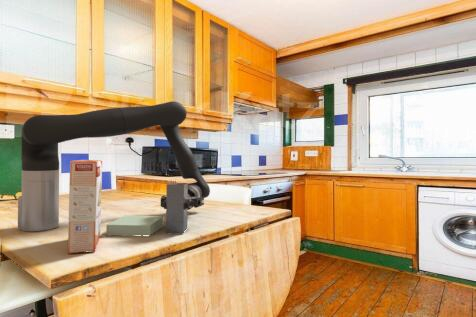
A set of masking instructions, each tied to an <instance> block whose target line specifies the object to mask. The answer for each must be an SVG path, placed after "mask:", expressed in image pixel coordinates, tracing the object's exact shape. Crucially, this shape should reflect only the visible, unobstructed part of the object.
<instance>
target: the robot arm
mask: <svg viewBox="0 0 476 317" xmlns="http://www.w3.org/2000/svg"><path fill="white" fill-rule="evenodd" d="M187 113H188V112H187V109H186V107H185V106H184V105H183V104H182V103H180V102H178V101H174V100H173V101H172V100H171V101H168V102H164V103H163V102H162V103H159V104H154V105H153V104H152V105H147V106H143V105H142V106H125V107H124V106H122V107H113V108H111V107H110V108H103V109H97V110H90V111H87V112H83V113H82V112H81V113H77V114H55V115H54V114H52V115H51V114H50V115H49V114H39V115H33V116H31V117H29V118H28V119H26V120H25V122H24V123H23V125H22V127H21V158H20V159H21V195H19V196H18V197H17V230H19V231H22V232H40V231H41V232H43V231H48V230H53V229H56V228H58V227H59V225H60V220H59V216H60V160H59V159H60V158H59V143H65V142H69V141H72V140H76V139H85V138H86V139H87V138H88V139H90V138H107V137H108V138H109V137H116V136H123V135H127V134H132V133H135V132H139V131H142V130H146V129H148V128H152V127H158V126H159V127H160V128H161V130H162V132H163V134H164V136H165V138H166V140H167V142H168V145H169V147H170V149H171V151H172V153H173V155H174V157H175V161H176V164H177V166H178V169H179V172H180V174H181V175H180V176H181V178H183V179H184V180H189V179H190V180H195V182H192V183H188V199H187V200H186V201H184V207H183V209H184V210H186V209H187V211H188V210H191V209H192V208H195V209H197V208H200V207H202V206H204V205H205V199H206V198H208V197H209V196H210V193H211V188H210V186H209V184H208V182H207V181H206V179H205V178H204V177H203V176H202V174H201V171H200V170H199V167H198V165H197V161H196V159H195V155H194V153H193V152H192V150H191V149H190V146H188V144H187V143H186V141H185V140H184V138H183V136H182V133H181V130H180V125H181V124H182V123H183V122H184V121H185V120H186V118H187V116H188V115H187ZM166 206H167V202H166V195H161V197H160V207H161V208H163V209H164V210H166Z"/></svg>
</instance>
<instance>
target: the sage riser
mask: <svg viewBox="0 0 476 317" xmlns="http://www.w3.org/2000/svg"><path fill="white" fill-rule="evenodd" d="M163 220H164V218H163V216H160V215H159V216H157V215H156V216H155V215H123V216H121V217H119V218H117V219H115V220H114V221H110V222H109V223H107V224H106V232H105V233H106V235H141V236H140V237H142V236H143V235H149V236H150V235H151V234H152V233H154V232H155V231H156V230H157V231H159V230H160V229H161V228H162V227H163V226H164V221H163ZM161 226H162V227H161ZM160 227H161V228H160ZM159 228H160V229H159ZM157 231H156V232H157ZM156 232H155V233H156ZM155 233H154V234H155ZM106 235H105V236H106ZM152 235H153V234H152ZM152 235H151V236H152ZM151 236H150V237H151Z"/></svg>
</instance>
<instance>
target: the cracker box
mask: <svg viewBox="0 0 476 317" xmlns="http://www.w3.org/2000/svg"><path fill="white" fill-rule="evenodd" d="M102 179H103V160H101V159H100V160H99V159H77V160H76V159H75V160H70V162H69V188H68V189H69V190H68V191H69V192H68V193H69V194H68V196H69V197H68V200H69V201H68V230H67V232H68V233H67V237H68V238H67V254H68V255H69V253H70V254H79V253H78V252H84V253H87V252H86V251H94V252H96V250H95V249H97V247H98V244H99V240H100V238H101V223H102V222H101V219H102V218H101V217H102V214H101V213H102V184H103V180H102ZM96 246H97V247H96Z"/></svg>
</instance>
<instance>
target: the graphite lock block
mask: <svg viewBox="0 0 476 317" xmlns="http://www.w3.org/2000/svg"><path fill="white" fill-rule="evenodd" d="M188 184H189V183H188V182H170V183H167V184H166V195H165V196H166V202H167V206H166V209H165V213H166V214H165V215H166V216H165V220H166V221H165V234H166V233H184V231H185V230H186V229H187V230H188V210H187V209H186V210H184V209H183V207H184V201H186V200H187V199H188ZM187 230H186V231H187ZM184 234H185V233H184Z"/></svg>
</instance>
